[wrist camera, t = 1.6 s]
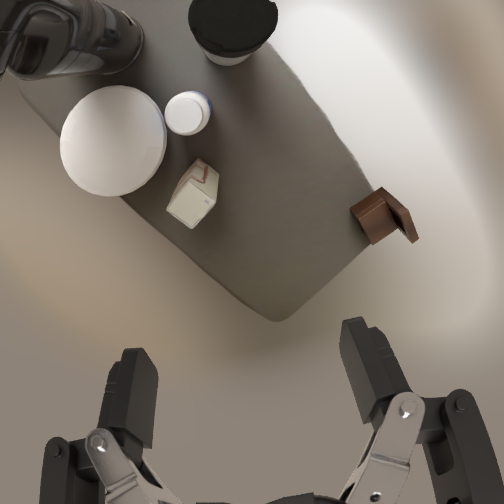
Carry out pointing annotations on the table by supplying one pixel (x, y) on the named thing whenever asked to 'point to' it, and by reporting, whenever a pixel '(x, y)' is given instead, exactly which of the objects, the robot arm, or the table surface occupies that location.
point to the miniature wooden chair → (383, 216)
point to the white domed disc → (113, 141)
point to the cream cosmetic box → (194, 194)
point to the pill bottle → (188, 112)
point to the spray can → (231, 27)
